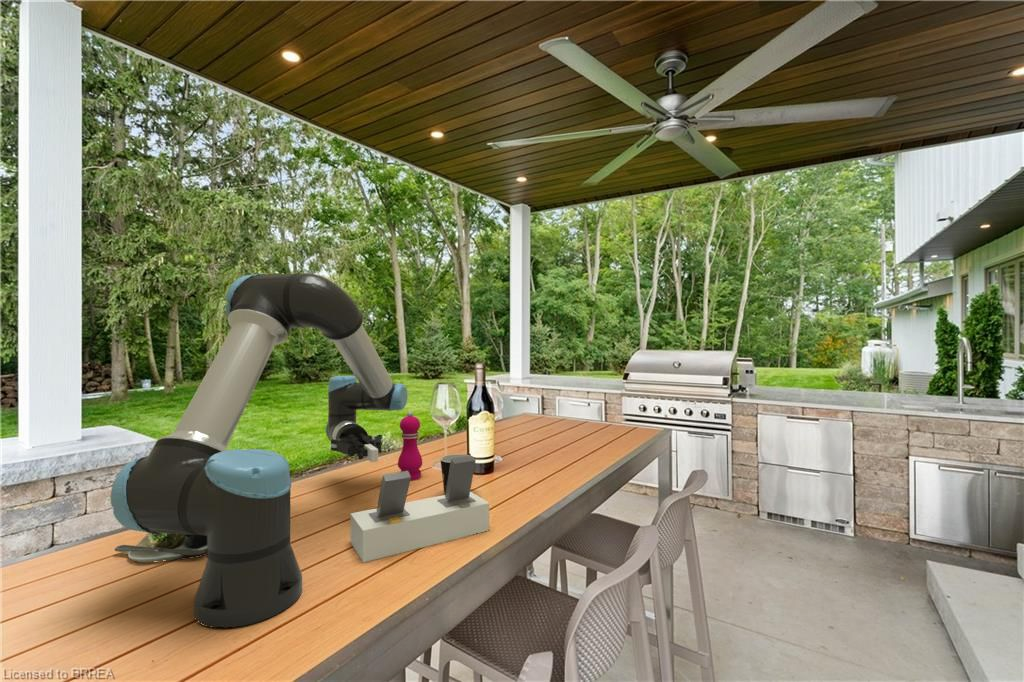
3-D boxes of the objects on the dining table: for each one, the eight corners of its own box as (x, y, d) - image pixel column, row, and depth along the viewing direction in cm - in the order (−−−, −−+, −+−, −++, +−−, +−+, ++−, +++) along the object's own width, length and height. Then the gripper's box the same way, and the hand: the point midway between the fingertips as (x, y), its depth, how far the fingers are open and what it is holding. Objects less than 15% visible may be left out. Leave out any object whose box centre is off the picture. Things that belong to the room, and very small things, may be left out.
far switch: (448, 501, 100) (454, 463, 97) (444, 496, 102) (451, 459, 99) (468, 497, 103) (475, 460, 100) (465, 492, 104) (472, 455, 102)
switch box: (363, 562, 87) (362, 528, 87) (350, 542, 96) (350, 511, 96) (489, 530, 101) (489, 500, 101) (468, 515, 110) (468, 488, 110)
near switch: (378, 517, 92) (385, 481, 88) (376, 510, 94) (383, 474, 90) (403, 512, 95) (410, 477, 91) (400, 505, 96) (408, 470, 92)
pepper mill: (403, 473, 144) (402, 408, 144) (425, 474, 143) (425, 409, 143) (394, 480, 137) (393, 412, 136) (417, 481, 136) (417, 413, 135)
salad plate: (93, 577, 83) (92, 551, 83) (137, 537, 99) (136, 515, 99) (218, 560, 89) (218, 536, 89) (239, 524, 106) (239, 504, 106)
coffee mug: (467, 502, 118) (467, 463, 118) (435, 500, 120) (435, 461, 120) (479, 488, 130) (479, 452, 130) (450, 486, 132) (450, 450, 131)
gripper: (374, 448, 127) (403, 468, 107) (324, 454, 120) (344, 477, 100) (374, 420, 127) (403, 435, 107) (324, 425, 120) (344, 442, 100)
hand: (374, 455), depth 104 cm, fingers closed
